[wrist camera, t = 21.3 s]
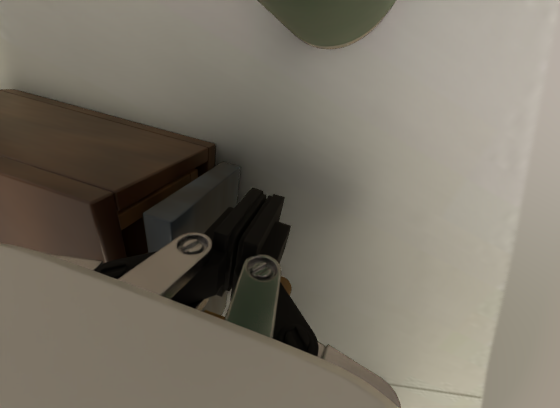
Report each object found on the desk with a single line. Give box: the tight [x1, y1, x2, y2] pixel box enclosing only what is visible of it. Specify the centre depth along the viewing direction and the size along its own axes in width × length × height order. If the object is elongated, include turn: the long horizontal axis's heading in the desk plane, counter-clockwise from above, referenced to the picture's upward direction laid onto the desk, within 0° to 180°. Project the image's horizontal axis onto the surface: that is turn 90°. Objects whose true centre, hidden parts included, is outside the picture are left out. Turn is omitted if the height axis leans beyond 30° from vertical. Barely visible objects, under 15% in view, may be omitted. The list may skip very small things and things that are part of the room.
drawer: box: [117, 162, 292, 320], centre depth 15 cm, size 20×14×6 cm
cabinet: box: [0, 89, 216, 263], centre depth 16 cm, size 16×15×8 cm
